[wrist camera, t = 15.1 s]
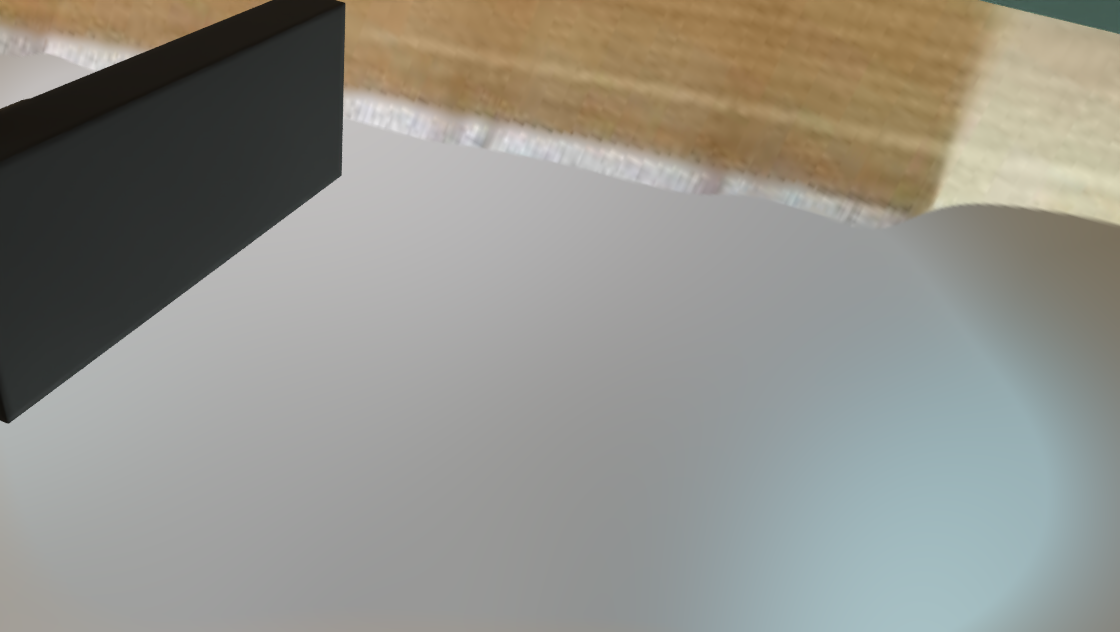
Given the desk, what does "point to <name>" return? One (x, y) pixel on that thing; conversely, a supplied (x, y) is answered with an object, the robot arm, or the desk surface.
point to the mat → (1072, 11)
